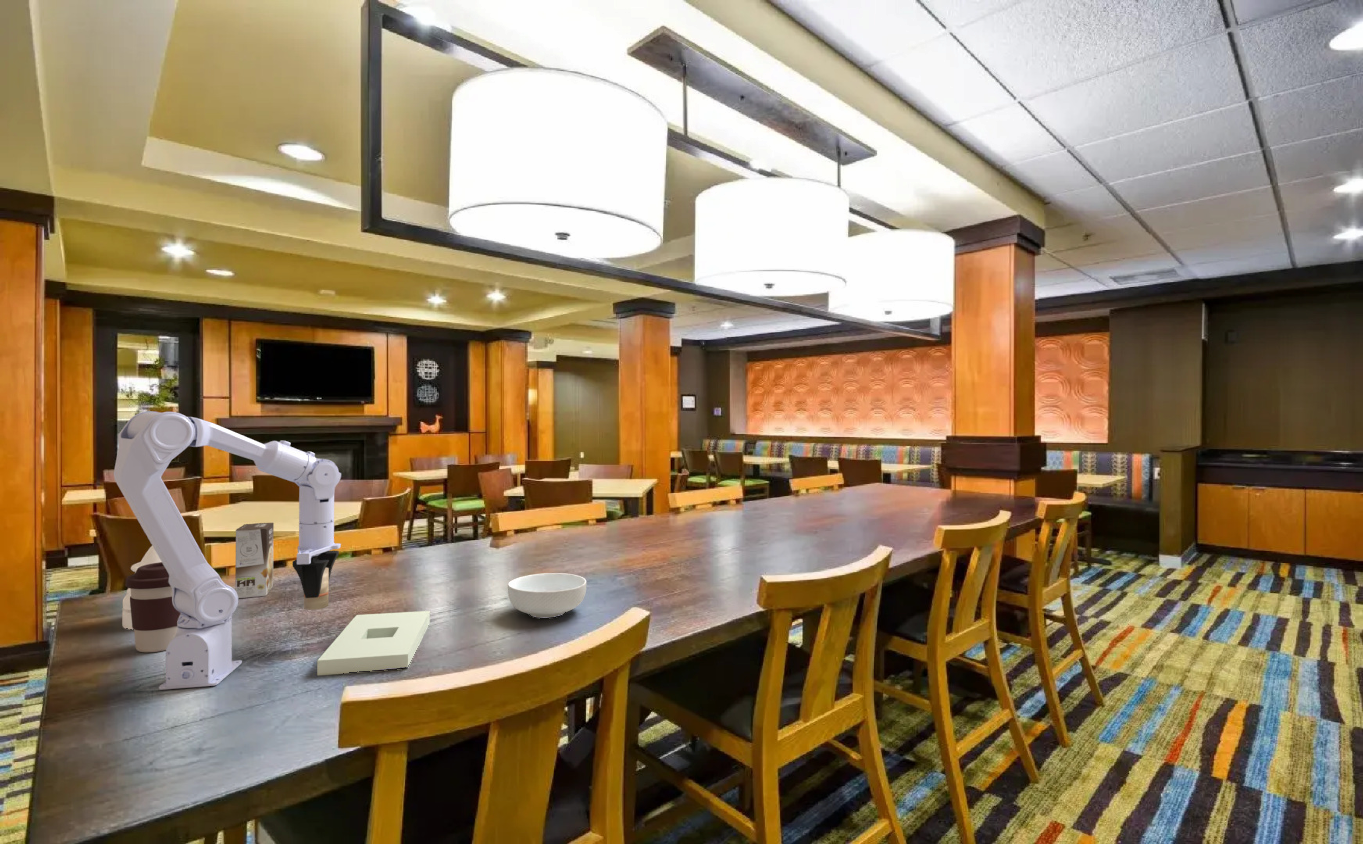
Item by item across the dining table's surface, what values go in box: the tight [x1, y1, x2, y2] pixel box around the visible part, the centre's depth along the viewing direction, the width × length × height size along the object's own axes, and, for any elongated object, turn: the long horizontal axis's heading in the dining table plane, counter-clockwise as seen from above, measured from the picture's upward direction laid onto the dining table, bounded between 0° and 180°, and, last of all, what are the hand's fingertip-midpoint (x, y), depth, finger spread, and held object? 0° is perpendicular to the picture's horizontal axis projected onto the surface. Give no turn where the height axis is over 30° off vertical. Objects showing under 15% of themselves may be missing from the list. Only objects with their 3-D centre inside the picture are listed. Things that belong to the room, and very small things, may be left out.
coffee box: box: [234, 522, 275, 599], centre depth 151 cm, size 9×6×16 cm
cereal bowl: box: [507, 572, 588, 617], centre depth 138 cm, size 17×17×7 cm
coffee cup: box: [125, 562, 181, 653], centre depth 116 cm, size 10×10×15 cm
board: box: [316, 610, 431, 676], centre depth 118 cm, size 24×14×2 cm, turn 13°
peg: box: [303, 568, 330, 611], centre depth 119 cm, size 4×4×7 cm
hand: (316, 593), depth 119 cm, fingers closed on peg, 4 cm apart
